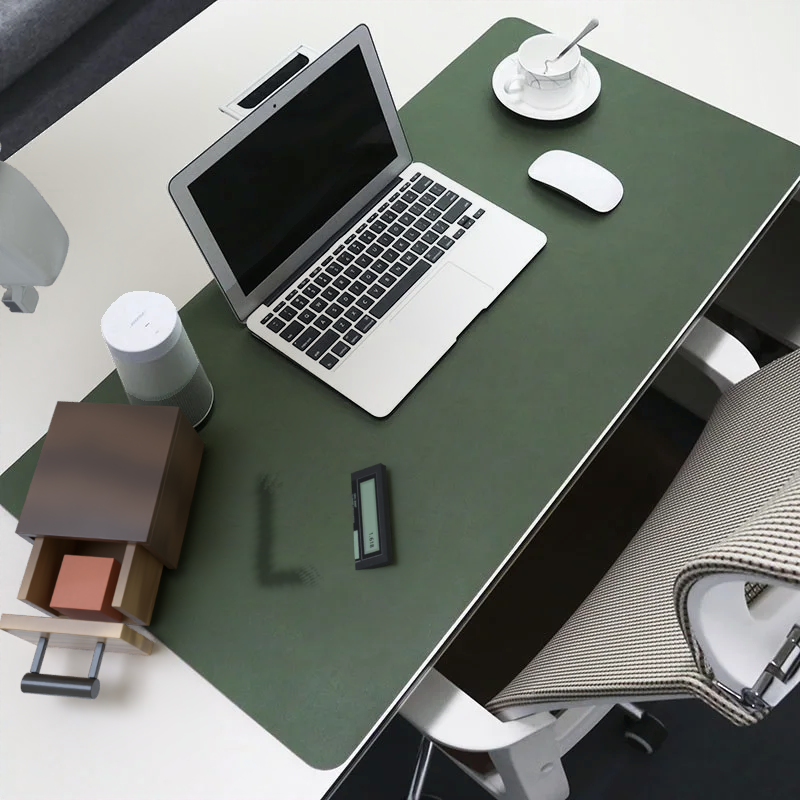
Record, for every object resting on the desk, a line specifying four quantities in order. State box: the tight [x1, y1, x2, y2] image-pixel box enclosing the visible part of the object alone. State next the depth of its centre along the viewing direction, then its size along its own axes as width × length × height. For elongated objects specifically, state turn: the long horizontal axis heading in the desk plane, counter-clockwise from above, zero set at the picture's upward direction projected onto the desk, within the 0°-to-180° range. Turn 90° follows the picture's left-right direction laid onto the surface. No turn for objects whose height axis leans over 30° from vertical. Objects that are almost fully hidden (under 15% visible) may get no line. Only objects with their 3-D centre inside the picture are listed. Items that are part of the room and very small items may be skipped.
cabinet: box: [14, 400, 205, 570], centre depth 76 cm, size 13×12×9 cm
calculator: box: [350, 462, 394, 571], centre depth 76 cm, size 9×12×3 cm
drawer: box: [0, 537, 165, 700], centre depth 72 cm, size 16×10×7 cm, turn 174°
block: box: [50, 555, 123, 623], centre depth 72 cm, size 4×4×4 cm
